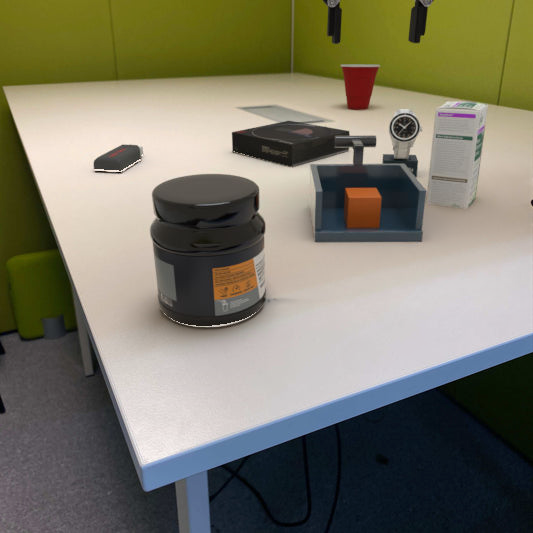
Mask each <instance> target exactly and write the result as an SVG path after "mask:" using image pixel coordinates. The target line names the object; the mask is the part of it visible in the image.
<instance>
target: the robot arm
mask: <svg viewBox="0 0 533 533" xmlns="http://www.w3.org/2000/svg"><path fill="white" fill-rule="evenodd" d="M413 1H414V6H412V7H411V9H410V17H409V18H410V19H409V30H408V38H407V39H408V42H410V43H412V44H420V43H421V38H422V36H425V34H426V27H427V20H428V18H427V17H428V12H429V11H428V10H429V7H430V6H431V5H432V4H433V2H434V1H435V0H413ZM322 2H323V4H325V6H326V7H327V26H326V34H327V35H326V36H327V37H331V43H332V44H334V45H338V44H340V43H341V37H342V36H341V35H342V19H343V18H342V16H343V15H342V13H343V9H342V8H341V0H322Z"/></svg>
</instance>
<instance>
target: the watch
mask: <svg viewBox="0 0 533 533" xmlns="http://www.w3.org/2000/svg"><path fill="white" fill-rule="evenodd" d="M421 132H422V133H423V126H421V123H420V120H419V119H418V118H417V115H416V113H415V111H413V109H410V108H409V109H408V108H397V109H396V111H394V113H393V116H392V118H391V120H390V122H389V124H388V133H389V136H390V140H391V143H392V151H393V153H384V154H382V161H381V164H405V165H406V166H407V167H408V169H409V170H410V171H411V172H412V174H413V175H414V176H415V177H416V178H417V175H418V167H419V160H418V158H417V155H416V154H410V153H411V148H413V147H414V145H415V143H416V139H417V138H418V136H419V134H420V133H421Z"/></svg>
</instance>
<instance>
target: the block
mask: <svg viewBox="0 0 533 533" xmlns="http://www.w3.org/2000/svg"><path fill="white" fill-rule="evenodd" d="M381 199H382V197H381V196H380V194H379V192H378V190H377V188H345V203H344V219H345V222H346V226H347V228H379V224H380V212H381Z"/></svg>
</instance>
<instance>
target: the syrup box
mask: <svg viewBox="0 0 533 533" xmlns="http://www.w3.org/2000/svg"><path fill="white" fill-rule="evenodd" d="M488 108H489V105H488V103H485V102H478V101H470V100H469V101H468V100H466V101H465V100H455V101H446V102H445V103H444V104H441V105H440V106H437V107H436V108H435V111H434V112H435V113H434V122H433V132H432V140H431V141H432V143H431V150H430V162H429V171H428V182H427V190H426V200H425V204H430V205H438V206H443V207H450V208H457V209H464V210H468V209H469V207H471V205H472V204H473V203H474V201H475V199H476V197H477V190H478V181H479V174H480V169H481V168H480V167H481V160H482V153H483V148H484V147H483V146H484V140H485V139H484V137H485V130H486V122H487V115H488V110H489V109H488Z"/></svg>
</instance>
